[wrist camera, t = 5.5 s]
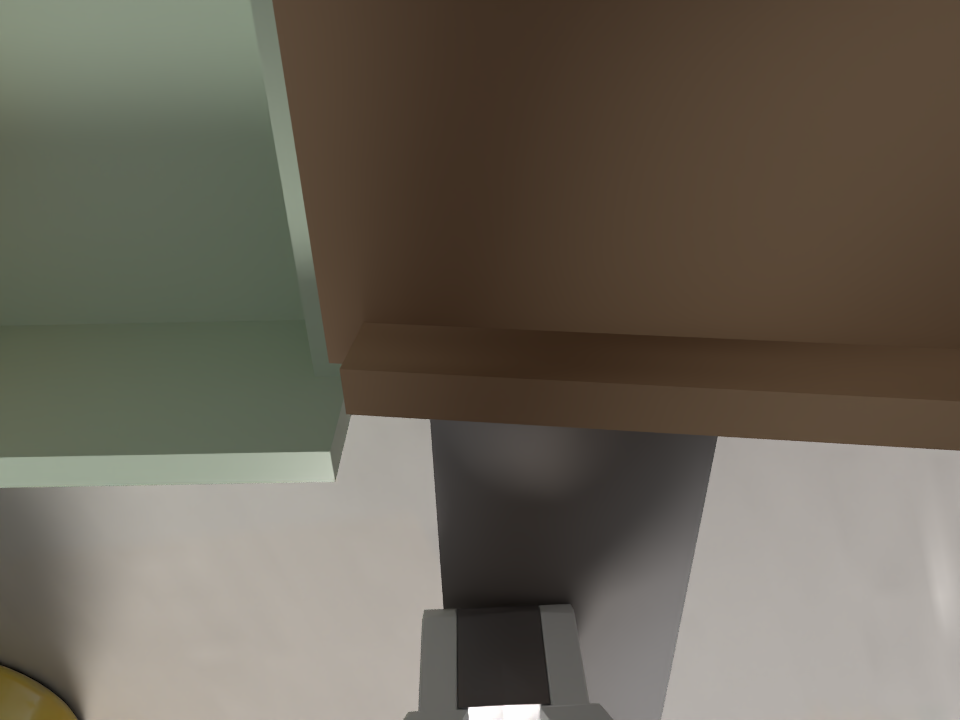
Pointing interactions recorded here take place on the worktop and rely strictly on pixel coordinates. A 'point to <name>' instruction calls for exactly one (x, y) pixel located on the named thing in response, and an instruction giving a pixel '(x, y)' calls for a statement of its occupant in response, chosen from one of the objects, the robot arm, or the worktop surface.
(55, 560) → the worktop surface
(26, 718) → the plant pot
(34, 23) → the tray
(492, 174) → the lever
